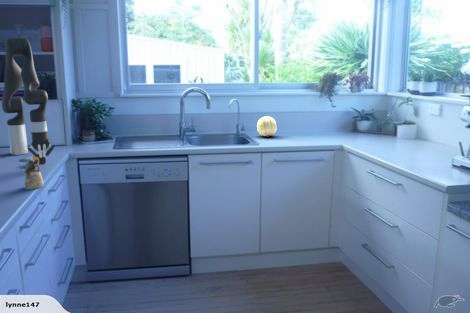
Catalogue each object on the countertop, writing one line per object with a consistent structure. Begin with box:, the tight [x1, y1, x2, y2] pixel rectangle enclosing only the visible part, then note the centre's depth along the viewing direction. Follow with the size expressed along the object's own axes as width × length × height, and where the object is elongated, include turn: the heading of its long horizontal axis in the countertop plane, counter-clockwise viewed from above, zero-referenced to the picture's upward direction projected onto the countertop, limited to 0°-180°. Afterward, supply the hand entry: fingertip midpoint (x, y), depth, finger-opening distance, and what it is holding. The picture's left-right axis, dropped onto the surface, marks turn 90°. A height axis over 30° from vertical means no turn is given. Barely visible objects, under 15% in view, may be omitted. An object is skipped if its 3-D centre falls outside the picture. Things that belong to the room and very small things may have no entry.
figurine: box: [23, 159, 44, 190], centre depth 178 cm, size 7×7×12 cm
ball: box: [32, 155, 41, 165], centre depth 222 cm, size 6×6×6 cm
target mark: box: [19, 156, 33, 163], centre depth 235 cm, size 12×12×1 cm
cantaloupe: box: [256, 115, 278, 138], centre depth 308 cm, size 15×15×15 cm
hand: (42, 164), depth 215 cm, fingers closed
